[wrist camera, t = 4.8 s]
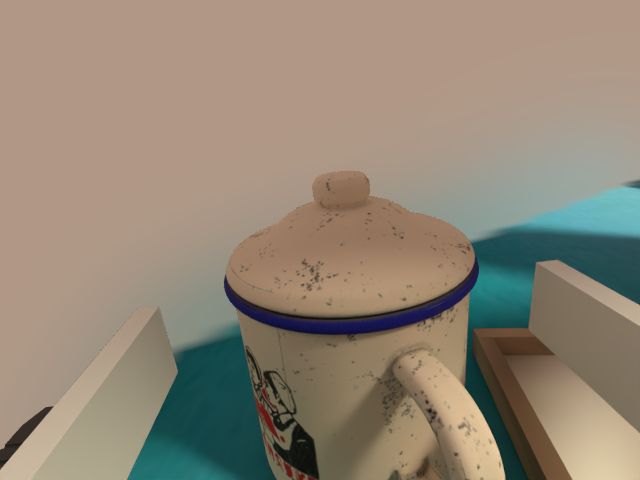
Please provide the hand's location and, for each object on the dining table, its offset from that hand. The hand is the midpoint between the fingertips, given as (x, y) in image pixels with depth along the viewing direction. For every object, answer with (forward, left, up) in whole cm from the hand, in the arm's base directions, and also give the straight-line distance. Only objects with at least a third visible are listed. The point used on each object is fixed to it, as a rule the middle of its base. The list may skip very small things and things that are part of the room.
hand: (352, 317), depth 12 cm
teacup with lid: (0, 0, -7) cm, 7 cm away
